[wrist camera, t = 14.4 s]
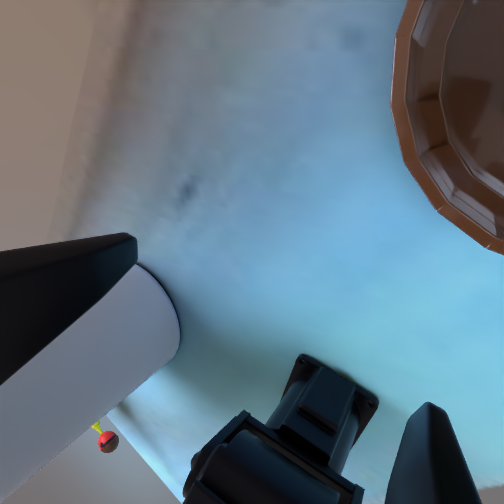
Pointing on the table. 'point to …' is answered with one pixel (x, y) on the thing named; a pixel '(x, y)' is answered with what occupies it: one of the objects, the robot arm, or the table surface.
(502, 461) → the table surface
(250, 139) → the table surface
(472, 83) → the bowl
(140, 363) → the cylinder vase
